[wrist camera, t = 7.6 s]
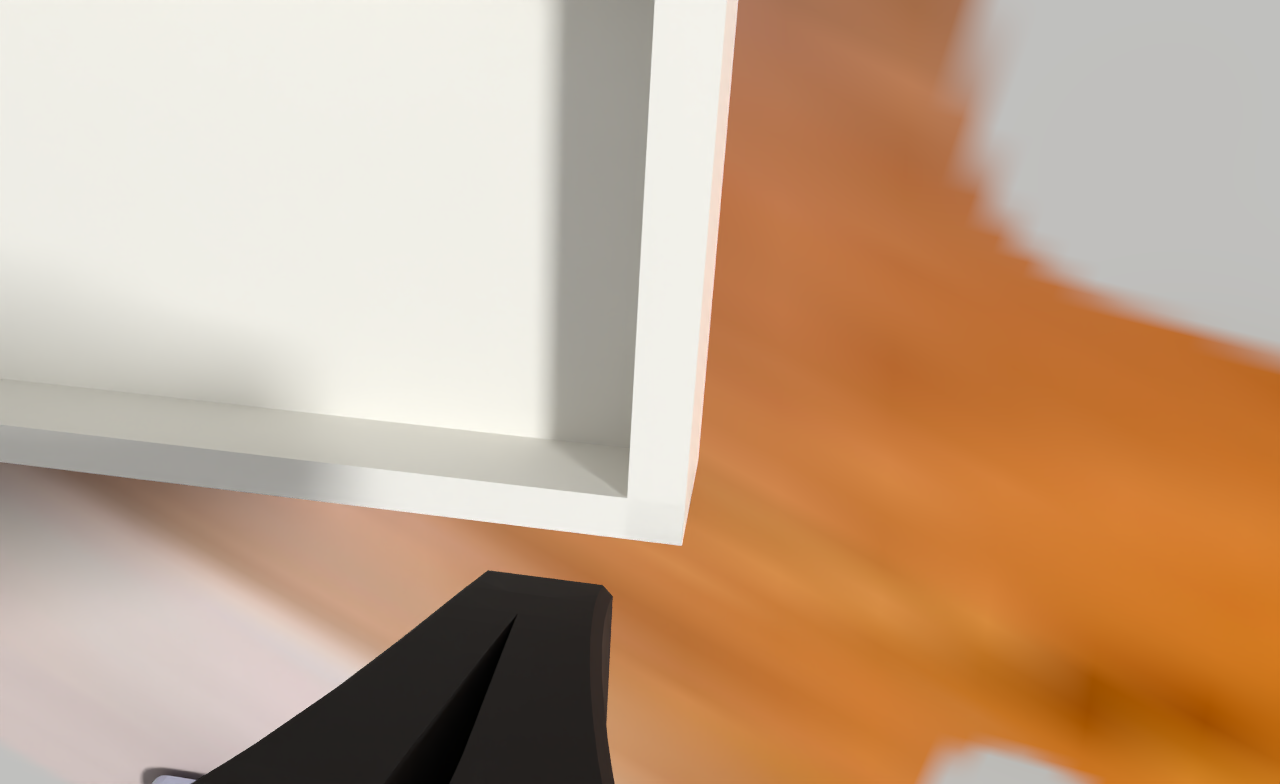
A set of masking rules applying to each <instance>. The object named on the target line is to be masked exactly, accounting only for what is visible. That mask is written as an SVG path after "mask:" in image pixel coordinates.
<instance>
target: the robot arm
mask: <svg viewBox="0 0 1280 784" xmlns="http://www.w3.org/2000/svg"><path fill="white" fill-rule="evenodd" d="M612 600H613V596H612V595H611V594H610V593H609V592H608V591H607V590H606V588H605V587H604V586H603V585H597V584H589V583H581V582H574V581H566V580H558V579H550V578H543V577H535V576H527V575H519V574H512V573H504V572H496V571H487V572H485V573H484V574H483V575H481V576H480V577H479V578H478V579H476V580H475V581H474V582H472V583H471V584H470V585H468V586H467V587H466V588H464V589H463V590H462V591H460V592H459V593H458V594H457V595H455V596H454V597H453V598H452V599H450V600H449V601H448V602H447V603H445V604H444V605H443V606H442V607H440V608H439V609H438V610H437V611H435V612H434V613H433V614H432V615H430V616H429V617H428V618H427V619H425V620H424V621H423V622H422V623H420V624H419V625H418V626H416V627H415V628H414V629H413V630H411V631H410V632H409V633H408V634H406V635H405V636H404V637H403V638H401V639H400V640H399V641H398V642H396V643H395V644H394V645H392V646H391V647H390V648H388V649H387V650H386V651H384V652H383V653H382V654H380V655H379V656H378V657H376V658H375V659H374V660H373V661H371V662H370V663H369V664H367V665H366V666H365V667H363V668H362V669H361V670H359V671H358V672H357V673H355V674H354V675H353V676H351V677H350V678H349V679H347V680H346V681H345V682H343V683H342V684H341V685H339V686H338V687H337V688H335V689H334V690H333V691H331V692H330V693H328V694H327V695H325V696H324V697H322V698H321V699H320V700H318V701H317V702H315V703H314V704H312V705H311V706H309V707H308V708H306V709H305V710H304V711H302V712H301V713H299V714H298V715H296V716H295V717H293V718H292V719H290V720H289V721H288V722H286V723H285V724H283V725H282V726H280V727H279V728H277V729H276V730H275V731H273V732H272V733H270V734H269V735H267V736H266V737H264V738H263V739H261V740H260V741H259V742H257V743H256V744H254V745H252V746H251V747H249V748H248V749H246V750H245V751H243V752H241V753H240V754H238V755H237V756H235V757H234V758H232V759H230V760H229V761H227V762H226V763H224V764H222V765H221V766H219V767H217V768H216V769H214V770H212V771H211V772H209V773H208V774H206V775H204V776H203V777H201V778H199V779H198V780H194V779H188V778H182V777H176V776H170V775H162V776H159V777H157V778H156V779H155V780H154V781H153V782H152V784H614V778H613V772H612V766H611V759H610V753H609V746H608V738H607V728H606V719H607V699H608V679H609V659H610V639H611V619H612Z"/></svg>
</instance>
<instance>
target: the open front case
mask: <svg viewBox="0 0 1280 784" xmlns="http://www.w3.org/2000/svg"><path fill="white" fill-rule="evenodd" d="M737 9H738V0H0V462H4V463H12V464H20V465H28V466H36V467H45V468H53V469H61V470H69V471H77V472H85V473H93V474H102V475H110V476H118V477H126V478H134V479H142V480H150V481H159V482H167V483H175V484H183V485H191V486H199V487H207V488H216V489H224V490H232V491H240V492H248V493H256V494H264V495H273V496H281V497H289V498H297V499H305V500H313V501H321V502H330V503H338V504H346V505H354V506H362V507H370V508H378V509H387V510H395V511H403V512H411V513H419V514H427V515H435V516H444V517H452V518H460V519H468V520H476V521H484V522H493V523H501V524H509V525H517V526H525V527H533V528H541V529H550V530H558V531H566V532H574V533H582V534H590V535H598V536H607V537H615V538H623V539H631V540H639V541H647V542H655V543H664V544H672V545H680V546H682V542H683V537H684V532H685V526H686V521H687V516H688V511H689V506H690V500H691V495H692V490H693V485H694V480H695V474H696V469H697V464H698V457H699V446H700V434H701V423H702V411H703V400H704V388H705V377H706V365H707V354H708V342H709V331H710V319H711V308H712V296H713V285H714V273H715V262H716V250H717V239H718V227H719V216H720V204H721V193H722V181H723V170H724V158H725V147H726V135H727V124H728V112H729V101H730V89H731V78H732V66H733V55H734V43H735V32H736V20H737Z"/></svg>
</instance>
